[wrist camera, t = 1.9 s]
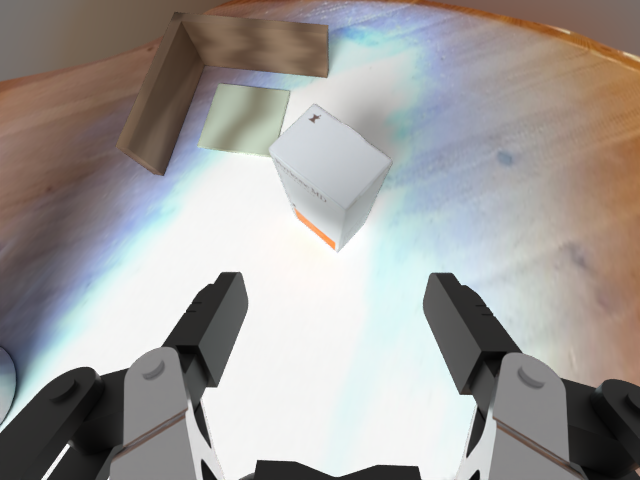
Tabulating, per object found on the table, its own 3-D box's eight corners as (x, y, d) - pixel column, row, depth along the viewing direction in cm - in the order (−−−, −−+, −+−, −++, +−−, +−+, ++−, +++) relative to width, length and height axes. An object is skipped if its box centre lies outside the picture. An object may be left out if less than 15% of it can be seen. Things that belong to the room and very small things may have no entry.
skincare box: (294, 218, 25) (263, 146, 13) (321, 189, 26) (314, 98, 14) (338, 256, 24) (345, 212, 12) (365, 225, 25) (396, 157, 13)
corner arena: (153, 174, 27) (115, 146, 22) (198, 57, 31) (174, 12, 26) (302, 195, 26) (295, 171, 21) (328, 70, 30) (328, 25, 25)
